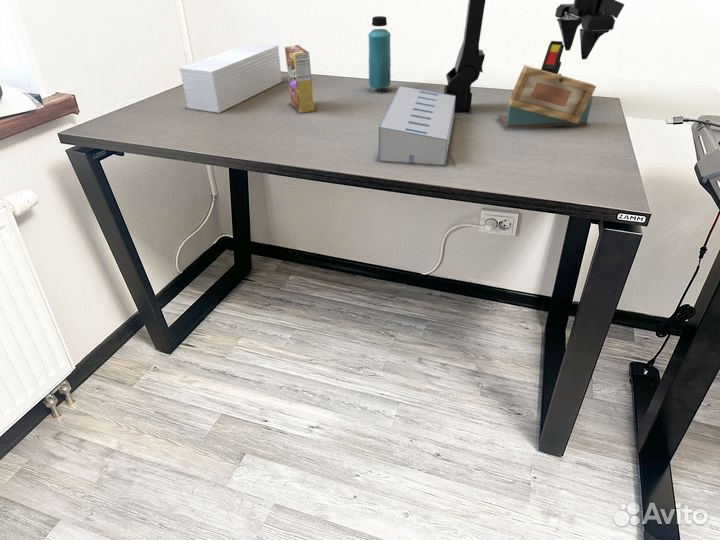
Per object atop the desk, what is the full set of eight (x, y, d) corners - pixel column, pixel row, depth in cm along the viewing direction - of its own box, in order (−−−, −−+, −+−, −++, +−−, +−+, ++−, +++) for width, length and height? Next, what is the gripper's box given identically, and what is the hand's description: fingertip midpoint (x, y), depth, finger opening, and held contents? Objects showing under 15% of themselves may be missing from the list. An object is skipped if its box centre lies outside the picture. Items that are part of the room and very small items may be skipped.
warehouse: (445, 165, 110) (448, 130, 106) (378, 160, 113) (378, 126, 109) (453, 117, 134) (456, 88, 130) (398, 115, 137) (399, 85, 132)
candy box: (289, 104, 146) (284, 46, 137) (304, 101, 147) (299, 44, 138) (299, 113, 139) (294, 53, 130) (314, 111, 140) (310, 51, 132)
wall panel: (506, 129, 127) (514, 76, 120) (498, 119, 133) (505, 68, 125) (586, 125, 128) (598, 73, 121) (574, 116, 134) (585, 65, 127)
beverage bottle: (390, 93, 152) (392, 18, 141) (368, 93, 152) (367, 18, 141) (390, 86, 158) (391, 14, 146) (368, 87, 158) (367, 14, 146)
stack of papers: (253, 78, 168) (248, 42, 162) (281, 81, 164) (278, 45, 158) (187, 108, 144) (179, 67, 138) (218, 113, 140) (211, 71, 134)
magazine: (557, 86, 149) (564, 40, 137) (547, 119, 144) (554, 74, 131) (544, 85, 151) (550, 39, 138) (533, 117, 145) (538, 73, 133)
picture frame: (510, 106, 121) (527, 67, 116) (507, 103, 123) (524, 64, 118) (578, 124, 125) (596, 86, 120) (574, 120, 127) (592, 84, 122)
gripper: (646, -13, 113) (626, 62, 122) (604, -23, 128) (589, 45, 137) (597, -11, 112) (580, 64, 121) (561, -22, 127) (548, 46, 136)
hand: (575, 54), depth 129 cm, fingers open, 9 cm apart
